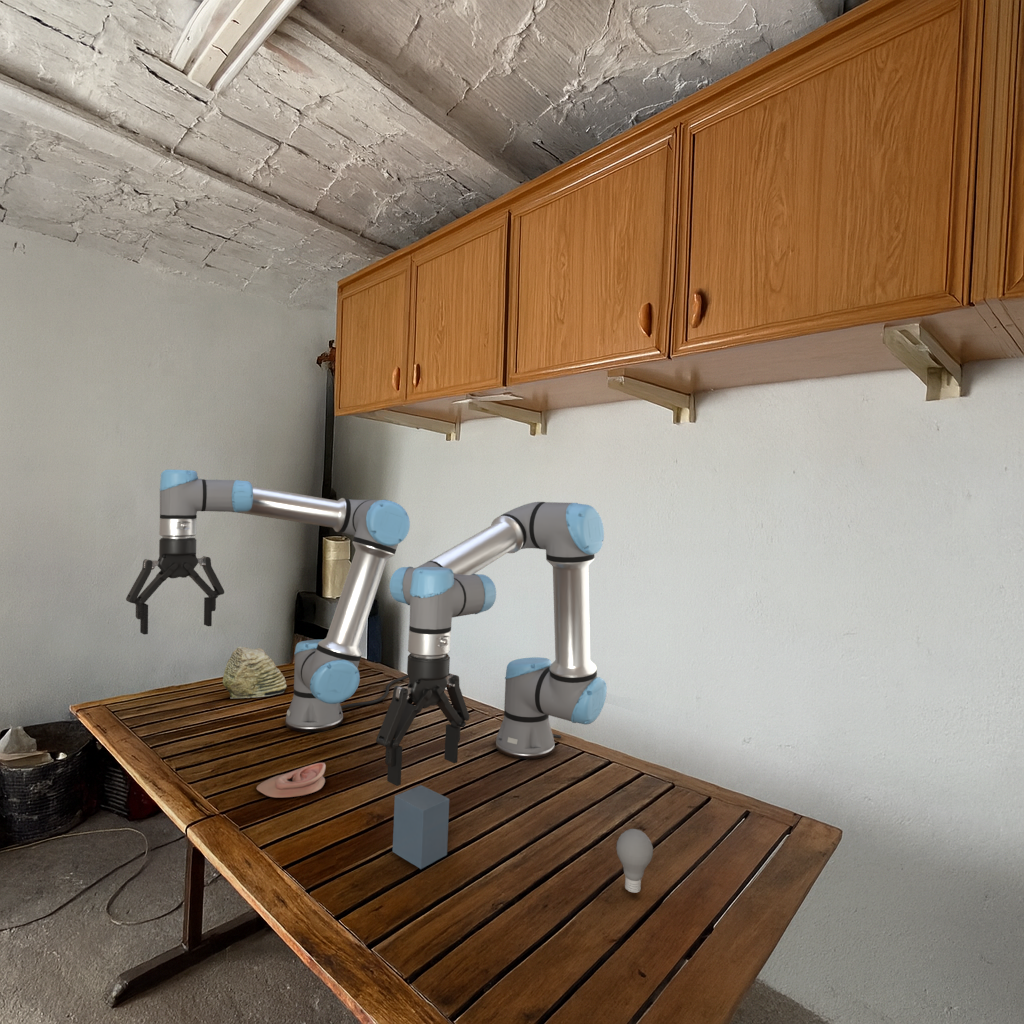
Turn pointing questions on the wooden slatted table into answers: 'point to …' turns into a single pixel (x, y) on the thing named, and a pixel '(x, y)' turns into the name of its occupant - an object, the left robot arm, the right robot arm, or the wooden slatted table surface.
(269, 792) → the anatomical model
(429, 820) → the brick
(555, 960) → the wooden slatted table surface
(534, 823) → the wooden slatted table surface
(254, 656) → the fossil
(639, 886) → the light bulb
